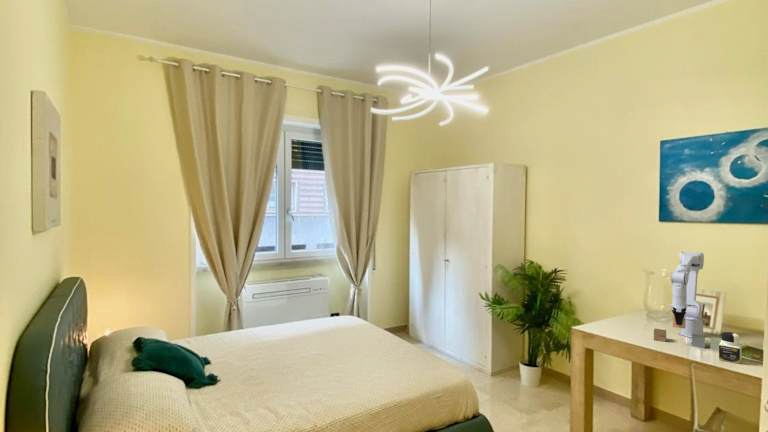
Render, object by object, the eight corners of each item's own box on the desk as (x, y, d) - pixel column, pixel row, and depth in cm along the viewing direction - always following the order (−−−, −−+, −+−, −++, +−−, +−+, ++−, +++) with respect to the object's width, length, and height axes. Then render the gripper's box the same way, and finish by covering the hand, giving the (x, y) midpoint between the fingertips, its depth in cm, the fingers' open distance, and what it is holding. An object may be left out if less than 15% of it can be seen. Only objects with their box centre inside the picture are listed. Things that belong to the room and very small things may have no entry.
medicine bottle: (718, 360, 182) (718, 333, 182) (720, 355, 188) (721, 329, 187) (739, 364, 177) (740, 336, 177) (741, 359, 182) (741, 333, 182)
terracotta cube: (673, 324, 207) (673, 314, 206) (685, 326, 204) (685, 316, 203) (672, 327, 203) (672, 317, 202) (685, 328, 200) (685, 318, 199)
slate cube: (692, 343, 204) (692, 333, 204) (704, 345, 201) (704, 335, 201) (691, 346, 200) (691, 336, 200) (704, 348, 197) (704, 338, 197)
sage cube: (710, 347, 199) (710, 336, 199) (723, 349, 196) (723, 338, 196) (710, 349, 195) (710, 339, 195) (724, 352, 192) (724, 341, 192)
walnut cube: (654, 337, 214) (654, 328, 214) (666, 339, 211) (666, 330, 211) (653, 340, 210) (653, 330, 210) (665, 342, 207) (665, 332, 207)
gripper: (670, 292, 211) (670, 318, 211) (668, 297, 199) (668, 325, 200) (687, 294, 207) (687, 321, 207) (686, 299, 195) (686, 328, 195)
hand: (679, 323), depth 203 cm, fingers closed on terracotta cube, 5 cm apart
